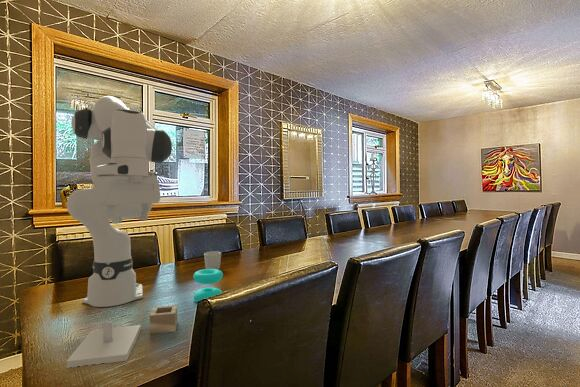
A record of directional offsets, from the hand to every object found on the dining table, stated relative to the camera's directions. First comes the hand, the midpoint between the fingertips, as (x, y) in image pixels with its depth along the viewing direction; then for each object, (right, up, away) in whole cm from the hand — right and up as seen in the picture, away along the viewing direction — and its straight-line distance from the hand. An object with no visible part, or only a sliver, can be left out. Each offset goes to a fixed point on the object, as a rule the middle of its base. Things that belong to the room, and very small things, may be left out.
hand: (130, 221), depth 86 cm
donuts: (+14, -30, +26) cm, 42 cm away
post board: (-2, -30, -7) cm, 31 cm away
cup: (+5, -29, +68) cm, 74 cm away
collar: (+7, -30, +4) cm, 31 cm away
